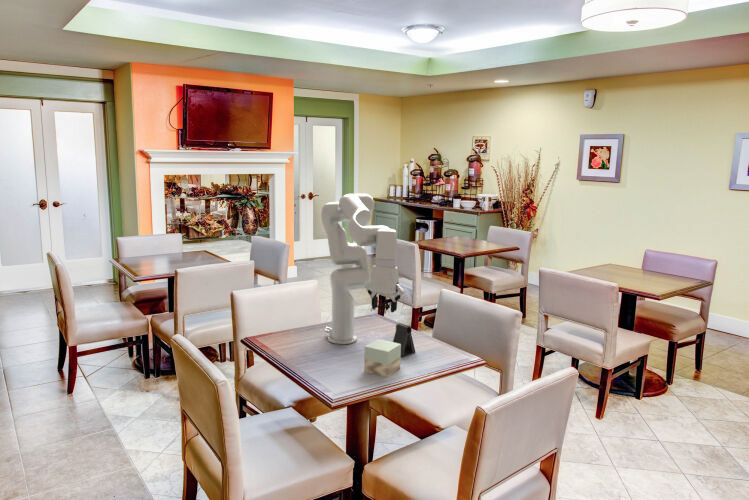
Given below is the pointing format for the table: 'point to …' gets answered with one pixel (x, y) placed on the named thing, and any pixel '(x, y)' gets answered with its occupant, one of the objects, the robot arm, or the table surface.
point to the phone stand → (404, 339)
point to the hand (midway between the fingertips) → (383, 309)
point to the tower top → (382, 351)
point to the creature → (382, 306)
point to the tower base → (381, 367)
